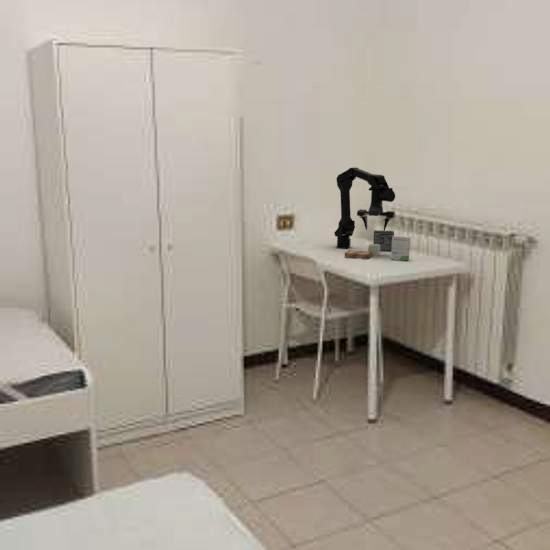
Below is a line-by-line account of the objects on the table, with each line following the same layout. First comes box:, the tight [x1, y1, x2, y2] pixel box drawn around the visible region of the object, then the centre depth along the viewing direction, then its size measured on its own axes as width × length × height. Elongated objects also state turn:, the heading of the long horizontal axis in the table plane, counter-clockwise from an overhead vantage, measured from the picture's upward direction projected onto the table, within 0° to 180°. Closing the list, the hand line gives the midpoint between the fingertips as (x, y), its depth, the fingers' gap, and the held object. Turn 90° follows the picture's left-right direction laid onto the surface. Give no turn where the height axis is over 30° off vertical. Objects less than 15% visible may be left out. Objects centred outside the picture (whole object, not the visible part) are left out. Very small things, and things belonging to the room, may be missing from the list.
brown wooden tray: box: [344, 249, 373, 260], centre depth 359 cm, size 12×10×2 cm
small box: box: [373, 229, 395, 252], centre depth 378 cm, size 11×6×10 cm, turn 84°
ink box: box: [390, 235, 411, 261], centre depth 352 cm, size 9×5×12 cm, turn 71°
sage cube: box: [368, 243, 381, 256], centre depth 366 cm, size 5×5×5 cm
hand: (375, 230), depth 364 cm, fingers open, 9 cm apart
